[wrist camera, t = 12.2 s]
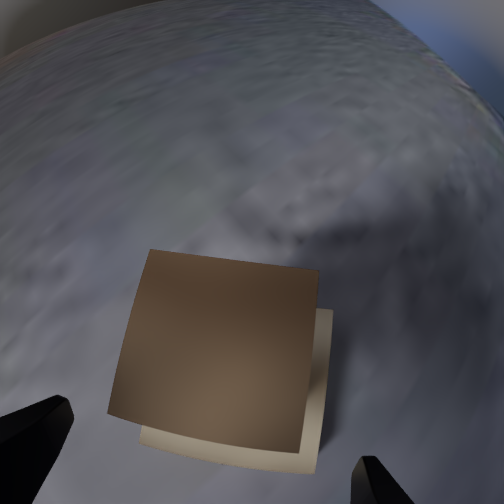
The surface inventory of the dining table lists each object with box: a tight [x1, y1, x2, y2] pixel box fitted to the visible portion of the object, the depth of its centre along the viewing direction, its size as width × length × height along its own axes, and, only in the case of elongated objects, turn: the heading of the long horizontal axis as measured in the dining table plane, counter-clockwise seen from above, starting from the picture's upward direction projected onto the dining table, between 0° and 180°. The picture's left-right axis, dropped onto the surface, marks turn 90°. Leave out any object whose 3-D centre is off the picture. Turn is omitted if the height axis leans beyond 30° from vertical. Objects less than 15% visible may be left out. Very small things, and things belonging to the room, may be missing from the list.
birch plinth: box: [139, 308, 333, 474], centre depth 18 cm, size 10×10×3 cm
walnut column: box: [107, 249, 319, 454], centre depth 12 cm, size 5×5×10 cm
